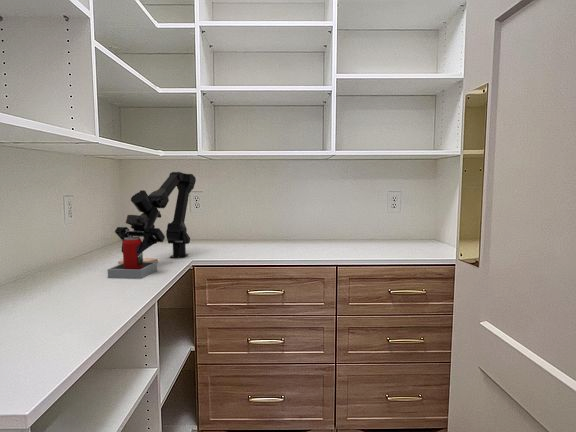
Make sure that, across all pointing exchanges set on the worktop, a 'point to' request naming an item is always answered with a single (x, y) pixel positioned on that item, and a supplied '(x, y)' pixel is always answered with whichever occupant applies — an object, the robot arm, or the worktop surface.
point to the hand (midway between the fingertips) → (130, 252)
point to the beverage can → (132, 253)
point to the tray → (132, 271)
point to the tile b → (150, 260)
